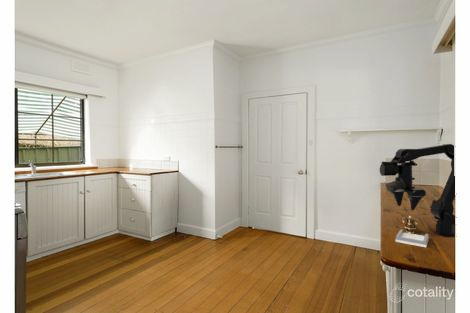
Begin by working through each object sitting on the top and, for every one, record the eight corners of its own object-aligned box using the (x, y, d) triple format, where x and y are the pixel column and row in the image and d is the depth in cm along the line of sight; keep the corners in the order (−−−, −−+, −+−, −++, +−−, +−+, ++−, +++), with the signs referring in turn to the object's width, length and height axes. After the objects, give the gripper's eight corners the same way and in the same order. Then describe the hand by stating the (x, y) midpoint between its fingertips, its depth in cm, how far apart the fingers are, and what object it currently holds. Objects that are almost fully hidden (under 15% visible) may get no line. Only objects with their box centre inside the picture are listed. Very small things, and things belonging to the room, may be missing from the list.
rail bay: (400, 233, 124) (400, 229, 124) (428, 238, 117) (428, 233, 117) (395, 241, 114) (395, 236, 114) (426, 247, 107) (426, 242, 107)
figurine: (400, 230, 129) (402, 214, 128) (410, 230, 129) (411, 214, 128) (408, 234, 124) (409, 218, 123) (417, 234, 124) (419, 217, 123)
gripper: (376, 174, 133) (377, 204, 133) (401, 178, 114) (402, 213, 115) (398, 173, 133) (398, 203, 134) (426, 177, 115) (427, 212, 115)
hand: (405, 208), depth 124 cm, fingers open, 9 cm apart
